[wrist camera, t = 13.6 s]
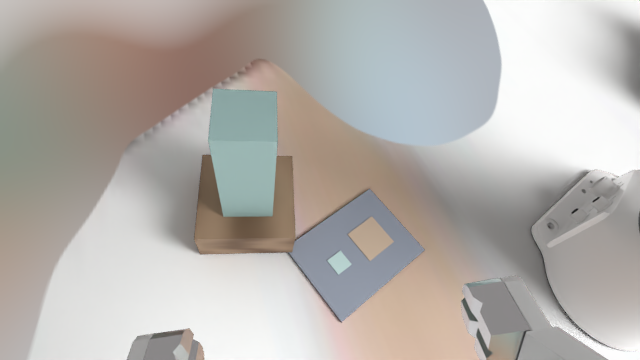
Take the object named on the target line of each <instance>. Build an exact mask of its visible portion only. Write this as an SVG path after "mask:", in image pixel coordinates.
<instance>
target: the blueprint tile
mask: <svg viewBox="0 0 640 360" xmlns="http://www.w3.org/2000/svg"><path fill="white" fill-rule="evenodd" d="M423 251H424V249H423V247H422V246H421V245H420V244H419V243H418V242H417V241H416V240H415V239H414V237H413V236H412V235H411V234H410V233H409V232H408V231H407V230H406V229H405V227H404V226H403V225H402V224H401V223H400V222H399V221H398V220H397V219H396V217H395V216H394V215H393V214H392V213H391V212H390V211H389V210H388V208H387V207H386V206H385V205H384V204H383V203H382V202H381V201H380V200H379V198H378V197H377V196H376V195H375V194H374V193H373V192H372V191H371V190H370V189H369V190H367V191H366V192H364V193H363V194H361V195H360V196H359V197H357V198H356V199H354V200H353V201H351V202H350V203H349V204H347V205H346V206H344V207H343V208H341V209H340V210H339V211H337V212H336V213H334V214H333V215H331V216H330V217H329V218H327V219H326V220H324V221H323V222H322V223H320V224H319V225H317V226H316V227H314V228H313V229H312V230H310V231H309V232H307V233H306V234H304V235H303V236H302V237H300V238H299V239H297V240H296V241H295V242H294V246H293V251H292V252H288V253H289V254H290V256H291V257H292V258H293V259H294V261H295V262H296V263H297V265H298V266H299V267H300V269H301V270H302V271H303V273H304V274H305V275H306V277H307V278H308V279H309V281H310V282H311V283H312V284H313V286H314V287H315V288H316V290H317V291H318V292H319V294H320V295H321V296H322V298H323V299H324V300H325V302H326V303H327V304H328V305H329V307H330V308H331V309H332V311H333V312H334V313H335V315H336V316H337V317H338V319H339V320H340V321H341V322H342V321H343V320H344V319H346V318H347V317H348V316H349V315H350V314H351V313H353V312H354V311H355V310H356V309H357V308H358V307H359V306H361V305H362V304H363V303H364V302H365V301H366V300H368V299H369V298H370V297H371V296H372V295H373V294H374V293H376V292H377V291H378V290H379V289H380V288H381V287H383V286H384V285H385V284H386V283H387V282H388V281H389V280H391V279H392V278H393V277H394V276H395V275H396V274H398V273H399V272H400V271H401V270H402V269H403V268H404V267H406V266H407V265H408V264H409V263H410V262H411V261H413V260H414V259H415V258H416V257H417V256H418V255H420V254H421V253H422V252H423Z"/></svg>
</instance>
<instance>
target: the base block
mask: <svg viewBox="0 0 640 360" xmlns="http://www.w3.org/2000/svg"><path fill="white" fill-rule="evenodd" d="M194 240H195V243H196V245H197V248H198V250H199V252H200V254H233V253H278V252H292V251H293V246H294V242H295V215H294V190H293V166H292V156H277V158H276V172H275V187H274V201H273V216H263V217H223V212H222V207H221V202H220V197H219V192H218V187H217V182H216V177H215V172H214V167H213V162H212V157H211V155H203V156H202V166H201V176H200V186H199V196H198V206H197V216H196V226H195V236H194Z"/></svg>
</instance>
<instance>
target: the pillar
mask: <svg viewBox="0 0 640 360" xmlns="http://www.w3.org/2000/svg"><path fill="white" fill-rule="evenodd" d="M208 142H209V147H210V152H211V157H212V162H213V167H214V172H215V177H216V182H217V187H218V192H219V197H220V202H221V207H222V212H223V217H263V216H273V201H274V187H275V172H276V158H277V144H278V136H277V92H274V91H251V90H228V89H213V95H212V106H211V116H210V127H209V137H208Z"/></svg>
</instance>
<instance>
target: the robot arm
mask: <svg viewBox="0 0 640 360" xmlns="http://www.w3.org/2000/svg"><path fill="white" fill-rule="evenodd" d="M548 226H549V227H550V228H549V227H548ZM531 231H532V235H533V237H534V239H535V241H536V243H537V245H538V247H539V249H540V250H541V252H542V255H543V258H544V263H545V268H546V273H547V277H548V280H549V283H550V286H551V288H552V290H553V293H554V294H555V296H556V298H557V300H558V302H559V303H560V305H561V306H562V308H563V309H564V310H565V312H566V313H567V314H568V316H569V317H570V318H571V319H572V320H573V321H574V322H575V323H576V324H577V325H578V326H579V327H580V328H581V329H582V330H584V331H585V332H586V333H587V334H589V335H590V336H591V337H593V338H594V339H596V340H598V341H599V342H601V343H603V344H605V345H607V346H610V347H612V348H615V349H619V350H623V351H640V170H632V171H630V172H628V173H626V174H624V175H622V176H620V177H619V176H616V175H614V174H611V173H609V172H605V171H601V170H593V171H591V172H589V173H588V174H586V175H585V176H584V177H583V178H582V179H581V180H580V181H579V182H578V183H577V184H576V185H575V186H574V187H572V188H571V189H570V190H569V191H568V192H567V193H566V194H565V195H564V196H563V197H562V198H561V199H560V200H559V201H558V202H557V203H556V204H555V205H554V206H553V207H551V208H550V209H549V210H548V211H547V212H546V213H545V214H544V215H543V216H542V217H541V218H540V219H539V220H538V221H537V222H536V223H535V224H534V225H533V226H532V229H531ZM462 292H463V294H464V296H465V298H464V299H463V300H462V301H461V311H462V317H463V320H464V323H465V326H466V329H467V331H468V333H469V334H470V335H472V336H473V337H474V338H476V339H475V346H474V348H475V350H476V353H477V355H478V357H479V360H608V359H606V358H605V357H603V356H602V355H600V354H598V353H597V352H595V351H594V350H592V349H591V348H589V347H588V346H586V345H585V344H583V343H582V342H580V341H579V340H577V339H576V338H574V337H573V336H571V335H570V334H568V333H567V332H565V331H563V330H562V329H560V328H559V327H552V326H551V325H550V323H549V321H548V320H547V318H546V317H545V315H544V313H543V312H542V310H541V309H540V307H539V305H538V304H537V302H536V301H535V299H534V298H533V296H532V294H531V293H530V291H529V290H528V288H527V286H526V285H525V283H524V282H523V280H522V279H521V278H520V277H519V276H516V275H515V276H509V277H504V278H495V279H489V280H484V281H478V282H472V283H467V284H464V285H463V290H462ZM193 335H194V334H193V333H192V331H191V330H190V329H189V328H188V329H181V330H175V331H168V332H162V333H153V334H147V335H141V336H137V338H136V339H135V340H134V342H133V344H132V346H131V349H130V352H129V355H128V358H127V360H204V351H203V348H202V346H201V344H200V343H199V342H198V341H195V340H193Z"/></svg>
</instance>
